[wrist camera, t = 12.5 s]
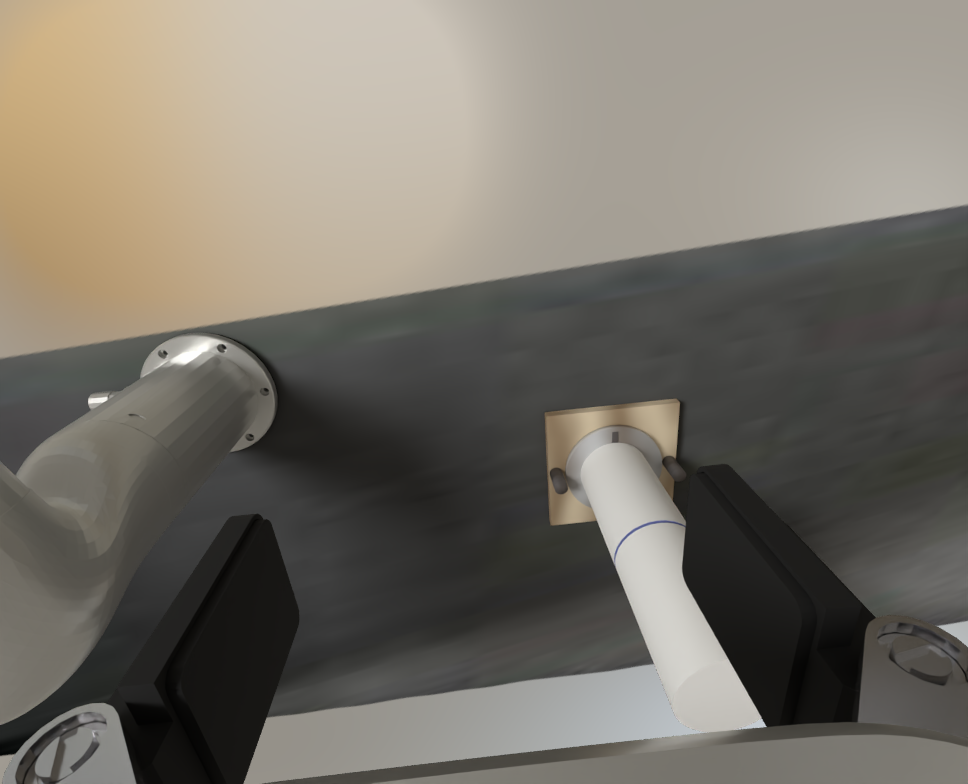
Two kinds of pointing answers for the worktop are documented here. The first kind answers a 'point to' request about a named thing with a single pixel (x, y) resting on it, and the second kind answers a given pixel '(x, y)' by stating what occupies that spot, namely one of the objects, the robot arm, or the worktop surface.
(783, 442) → the worktop surface
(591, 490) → the cylindrical container
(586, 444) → the locking base
